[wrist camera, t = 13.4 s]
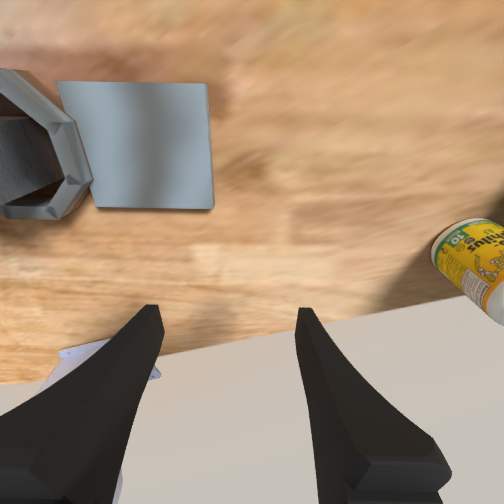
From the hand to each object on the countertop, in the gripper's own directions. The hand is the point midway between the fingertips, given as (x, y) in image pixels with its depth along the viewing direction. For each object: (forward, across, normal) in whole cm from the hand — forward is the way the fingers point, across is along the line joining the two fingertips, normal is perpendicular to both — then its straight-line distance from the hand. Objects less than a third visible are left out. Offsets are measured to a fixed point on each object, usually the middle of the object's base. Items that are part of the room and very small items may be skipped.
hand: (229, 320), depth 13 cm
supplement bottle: (+10, -19, +1) cm, 22 cm away
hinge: (+10, +15, -6) cm, 19 cm away
